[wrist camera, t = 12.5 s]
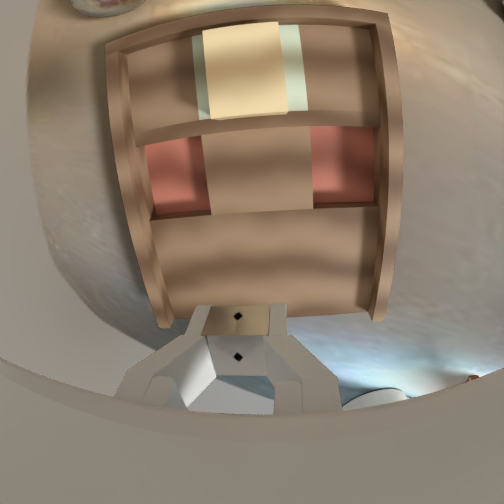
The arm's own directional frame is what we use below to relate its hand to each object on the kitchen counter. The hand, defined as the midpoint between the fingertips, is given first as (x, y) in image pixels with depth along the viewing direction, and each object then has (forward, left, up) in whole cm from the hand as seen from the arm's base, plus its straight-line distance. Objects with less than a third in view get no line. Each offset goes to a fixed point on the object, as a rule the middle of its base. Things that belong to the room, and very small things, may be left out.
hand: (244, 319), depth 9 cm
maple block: (+11, 0, -19) cm, 22 cm away
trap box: (+2, 0, -21) cm, 21 cm away
